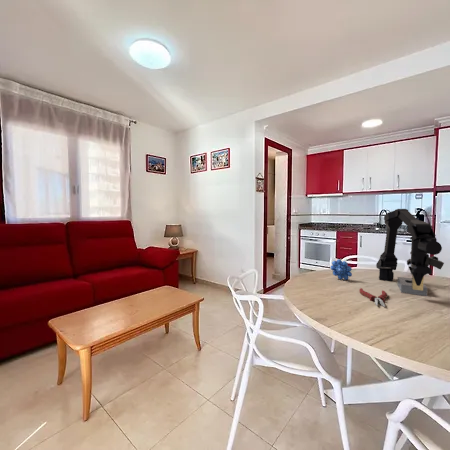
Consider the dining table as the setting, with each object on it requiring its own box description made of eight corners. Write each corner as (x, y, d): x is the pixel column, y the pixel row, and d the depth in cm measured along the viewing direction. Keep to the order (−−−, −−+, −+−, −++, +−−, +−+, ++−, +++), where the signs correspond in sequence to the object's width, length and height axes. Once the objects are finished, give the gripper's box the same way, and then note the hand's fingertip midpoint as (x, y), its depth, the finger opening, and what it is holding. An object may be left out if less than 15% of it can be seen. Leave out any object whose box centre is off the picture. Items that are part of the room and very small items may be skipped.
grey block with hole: (401, 292, 120) (401, 284, 120) (397, 283, 134) (397, 276, 134) (426, 296, 115) (427, 287, 115) (420, 286, 129) (420, 279, 129)
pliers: (365, 307, 104) (365, 301, 103) (358, 292, 122) (358, 287, 122) (397, 311, 99) (397, 305, 99) (384, 295, 118) (385, 289, 118)
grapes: (328, 279, 142) (329, 259, 141) (331, 277, 148) (331, 257, 147) (350, 283, 136) (351, 261, 135) (352, 280, 141) (353, 259, 140)
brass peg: (413, 289, 110) (413, 272, 110) (411, 287, 113) (412, 270, 113) (423, 290, 108) (423, 273, 108) (421, 288, 112) (422, 271, 111)
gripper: (448, 255, 98) (446, 293, 99) (436, 249, 114) (435, 281, 115) (414, 253, 103) (412, 289, 104) (407, 247, 119) (406, 278, 120)
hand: (417, 284), depth 111 cm, fingers closed on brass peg, 4 cm apart
